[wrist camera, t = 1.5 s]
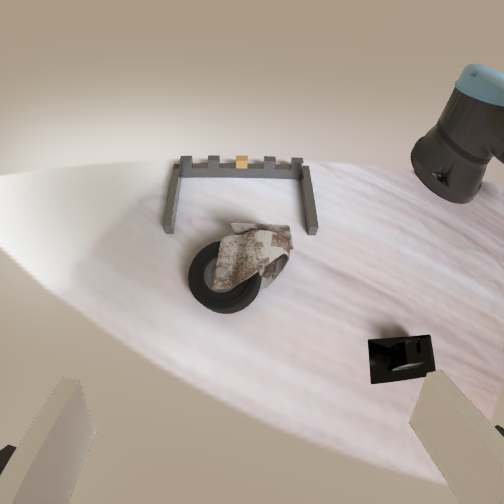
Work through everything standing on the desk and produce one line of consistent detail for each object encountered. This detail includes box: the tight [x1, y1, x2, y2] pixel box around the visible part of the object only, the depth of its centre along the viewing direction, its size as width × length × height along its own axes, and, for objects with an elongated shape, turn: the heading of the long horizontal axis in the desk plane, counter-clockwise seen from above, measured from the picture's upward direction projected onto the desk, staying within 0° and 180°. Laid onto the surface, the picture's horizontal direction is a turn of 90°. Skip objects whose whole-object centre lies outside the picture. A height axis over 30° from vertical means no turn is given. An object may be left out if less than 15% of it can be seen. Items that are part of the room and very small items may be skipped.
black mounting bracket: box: [368, 335, 436, 384], centre depth 34 cm, size 12×7×5 cm, turn 90°
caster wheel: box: [188, 223, 293, 314], centre depth 38 cm, size 7×11×10 cm
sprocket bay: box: [164, 156, 318, 235], centre depth 44 cm, size 20×11×4 cm, turn 91°
